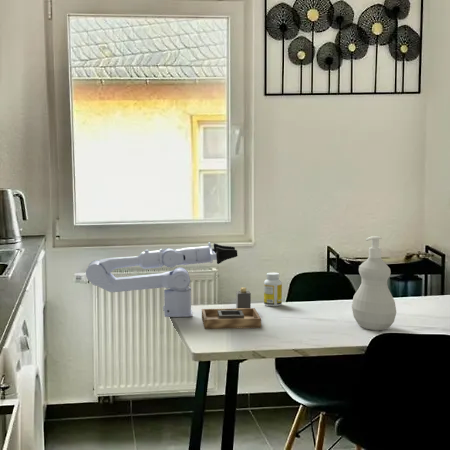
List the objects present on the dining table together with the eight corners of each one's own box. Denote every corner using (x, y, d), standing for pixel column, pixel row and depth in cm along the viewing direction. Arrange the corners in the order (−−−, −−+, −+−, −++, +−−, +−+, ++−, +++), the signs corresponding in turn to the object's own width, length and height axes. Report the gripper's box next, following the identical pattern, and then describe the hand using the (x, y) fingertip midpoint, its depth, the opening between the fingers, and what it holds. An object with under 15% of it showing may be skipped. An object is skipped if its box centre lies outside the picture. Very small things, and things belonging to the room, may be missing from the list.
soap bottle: (342, 324, 257) (344, 234, 254) (369, 320, 263) (371, 232, 260) (376, 335, 243) (379, 240, 240) (405, 331, 249) (407, 238, 246)
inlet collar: (219, 323, 255) (219, 315, 254) (217, 317, 263) (217, 310, 262) (244, 322, 255) (244, 315, 255) (241, 317, 263) (241, 310, 263)
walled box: (204, 328, 250) (204, 319, 250) (201, 317, 266) (201, 308, 266) (260, 328, 252) (261, 318, 252) (254, 316, 268) (254, 308, 267)
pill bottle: (281, 303, 290) (282, 272, 289) (281, 307, 284) (281, 275, 283) (264, 302, 291) (264, 271, 290) (263, 306, 285) (263, 274, 283)
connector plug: (237, 313, 273) (237, 289, 272) (236, 310, 277) (236, 286, 277) (250, 313, 273) (250, 289, 272) (248, 310, 278) (249, 286, 277)
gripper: (196, 246, 261) (237, 242, 262) (194, 241, 276) (233, 237, 277) (198, 267, 262) (239, 263, 263) (196, 260, 276) (234, 257, 277)
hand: (236, 251), depth 270 cm, fingers open, 7 cm apart
